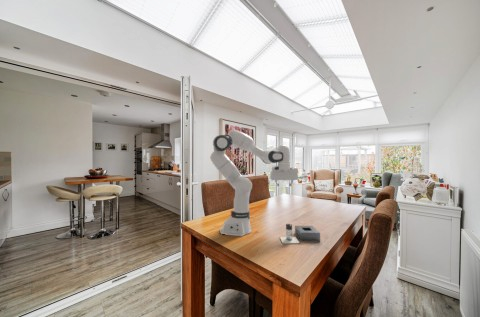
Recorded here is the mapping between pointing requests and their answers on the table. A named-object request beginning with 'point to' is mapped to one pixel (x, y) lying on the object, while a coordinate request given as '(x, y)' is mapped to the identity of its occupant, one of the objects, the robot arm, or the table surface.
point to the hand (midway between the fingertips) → (284, 186)
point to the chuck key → (289, 232)
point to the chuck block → (307, 233)
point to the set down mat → (293, 241)
